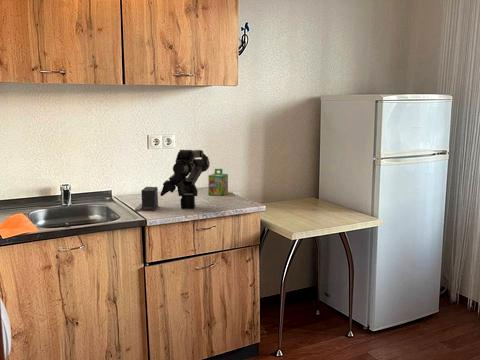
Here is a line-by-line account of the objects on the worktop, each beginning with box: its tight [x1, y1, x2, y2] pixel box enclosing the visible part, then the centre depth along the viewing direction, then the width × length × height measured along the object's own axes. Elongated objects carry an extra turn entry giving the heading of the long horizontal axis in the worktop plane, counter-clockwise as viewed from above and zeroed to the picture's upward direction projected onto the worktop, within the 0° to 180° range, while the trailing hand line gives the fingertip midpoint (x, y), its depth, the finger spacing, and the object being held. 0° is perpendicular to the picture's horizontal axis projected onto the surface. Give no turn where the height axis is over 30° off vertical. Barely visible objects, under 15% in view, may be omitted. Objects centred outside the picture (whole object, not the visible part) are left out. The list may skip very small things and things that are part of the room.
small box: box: [140, 186, 159, 212], centre depth 234 cm, size 11×6×10 cm, turn 179°
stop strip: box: [134, 203, 142, 212], centre depth 235 cm, size 2×12×1 cm, turn 178°
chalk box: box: [207, 168, 229, 197], centre depth 269 cm, size 9×9×15 cm
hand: (161, 195), depth 234 cm, fingers closed
